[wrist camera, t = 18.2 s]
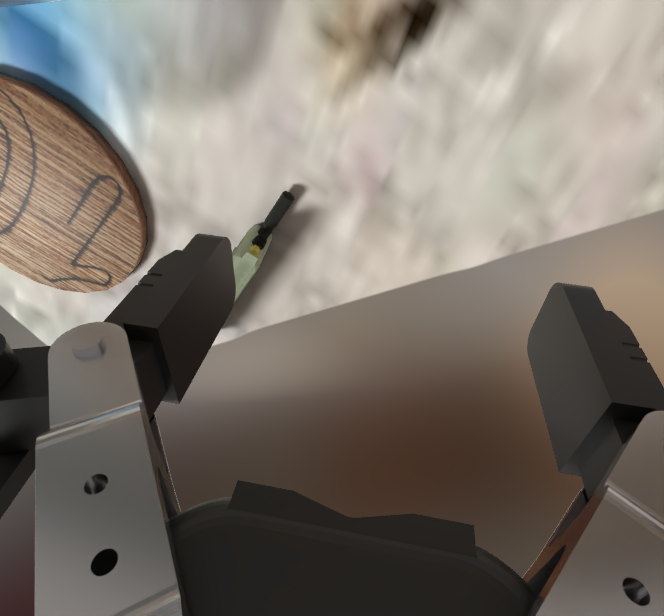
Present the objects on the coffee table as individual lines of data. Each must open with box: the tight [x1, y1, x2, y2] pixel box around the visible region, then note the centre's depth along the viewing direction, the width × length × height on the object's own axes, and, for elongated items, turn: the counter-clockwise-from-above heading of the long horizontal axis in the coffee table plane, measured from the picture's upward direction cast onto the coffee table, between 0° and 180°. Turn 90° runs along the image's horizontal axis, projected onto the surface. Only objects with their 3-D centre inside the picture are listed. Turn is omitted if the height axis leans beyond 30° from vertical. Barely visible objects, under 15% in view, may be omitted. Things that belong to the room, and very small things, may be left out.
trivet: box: [0, 72, 147, 293], centre depth 47 cm, size 25×25×2 cm
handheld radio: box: [232, 191, 294, 303], centre depth 47 cm, size 7×3×25 cm
